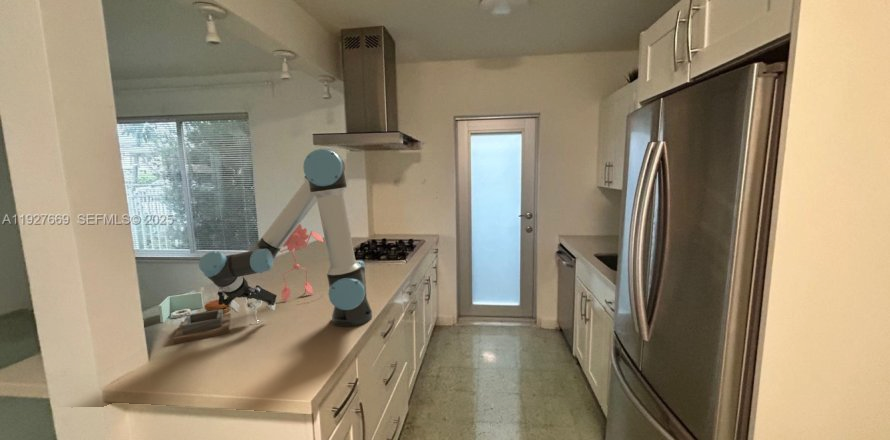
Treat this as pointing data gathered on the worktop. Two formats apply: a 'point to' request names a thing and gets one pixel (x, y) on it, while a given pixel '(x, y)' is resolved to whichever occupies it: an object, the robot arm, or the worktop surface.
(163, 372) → the worktop surface
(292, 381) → the worktop surface
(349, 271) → the robot arm
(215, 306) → the burger
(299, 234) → the figurine
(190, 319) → the socket base
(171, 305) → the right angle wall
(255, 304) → the wineglass
